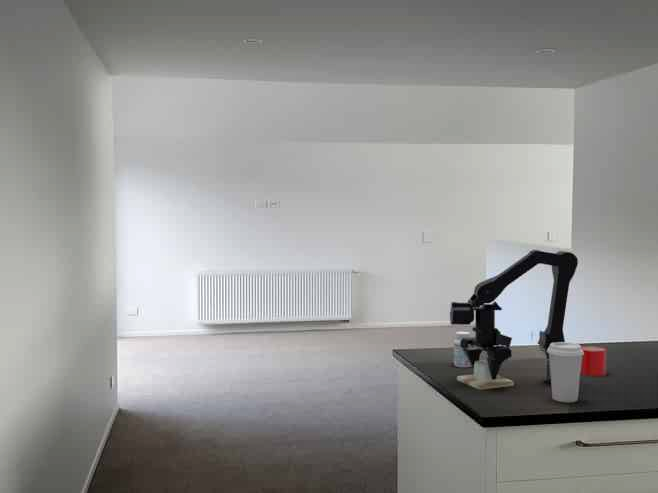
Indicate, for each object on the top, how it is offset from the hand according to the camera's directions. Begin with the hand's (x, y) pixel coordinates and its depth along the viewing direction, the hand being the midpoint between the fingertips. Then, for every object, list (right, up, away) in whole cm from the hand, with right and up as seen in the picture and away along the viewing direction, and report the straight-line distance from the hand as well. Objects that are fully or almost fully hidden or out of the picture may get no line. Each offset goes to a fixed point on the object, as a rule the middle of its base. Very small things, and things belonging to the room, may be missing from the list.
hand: (484, 375), depth 196 cm
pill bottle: (-2, -1, +22) cm, 22 cm away
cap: (0, -1, 0) cm, 1 cm away
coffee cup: (+18, -3, -18) cm, 25 cm away
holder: (0, -2, 0) cm, 2 cm away
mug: (+35, -1, +12) cm, 37 cm away
